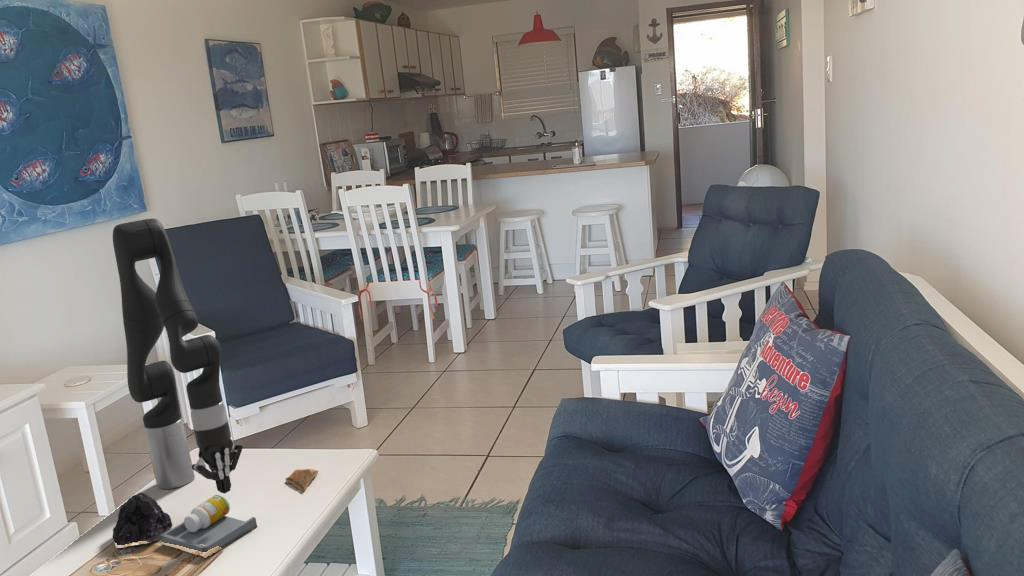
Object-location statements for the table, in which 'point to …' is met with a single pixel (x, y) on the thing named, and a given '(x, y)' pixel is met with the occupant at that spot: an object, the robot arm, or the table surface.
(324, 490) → the table surface
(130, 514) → the crystal cluster
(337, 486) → the table surface
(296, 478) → the shard
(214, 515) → the supplement bottle
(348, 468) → the table surface
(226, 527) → the tray
